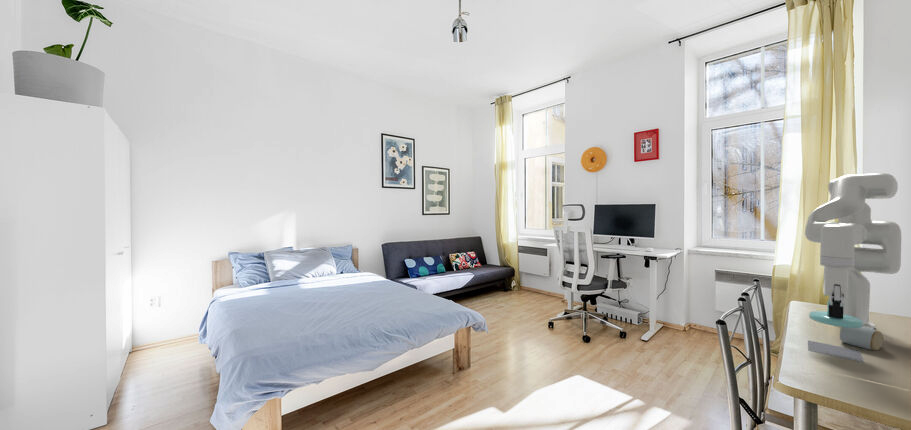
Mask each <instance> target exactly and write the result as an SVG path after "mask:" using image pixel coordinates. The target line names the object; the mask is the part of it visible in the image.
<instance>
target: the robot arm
mask: <svg viewBox="0 0 911 430" xmlns="http://www.w3.org/2000/svg"><path fill="white" fill-rule="evenodd" d="M827 187H828V191H829V194H830V198H829V201H828V202H826V203H824V204H822V205H820V206H819V207H816V209H814V210H813V211H811V212H810V213H809V215H808V218H807V221H806V225H805V229H804V235H805V238H806V240H808V241H810V242H812V243H816V244H817V243H818V244H819V243H820V249H819V250H820V253H819V256H820V259H819V264H820V265H819V266H822V267H823V286H822V289H823V290H822V291H823V292H822V293H823V295H824V296H826V297H828V301H830V305H829V317H833V318H840V319H843V314H845V315H849V316H853V317H856V318H858V319H860V320H862V321H863V326H864V327H868V328H872V329H875V327H876V325H875V324H874V323H873V322H870V302H871V301H870V297H871V283H870V281H869V280H868V278H867V277H866V276H865V275H864V274H862V273H863V272H864V273H874V274H875V273H876V274H884V275H885V274H887V275H894V274H897V273H898V272H899V271H900V269H901V264H902V263H901V261H902V230H901V227H900V225H899V224H898V223H896V222H894V221H888V220H872V218H871V215H872V208H871V207H870V205H869V204H867V203H866V199H867V200H870V199H871V200H873V199H876V200H877V199H879V200H880V199H881V200H884V199H892V198H894V196H896V194H897V192H898V190H899V189H898V188H899V184H898V181H897V179H896V178H895V176H893V175H892V174H889V173H886V172H885V173H883V172H877V173H860V174H859V173H858V174H857V173H855V174H854V173H853V174H845V175H842V176H840V177H838V178H835V179H832V180H830V181H829V182H828V185H827ZM832 220H838V221H832ZM856 245H870V246H880V247H881V248H873V247H871V248H870V247H861V246H858V247H857V246H856ZM843 304H844V311H843Z"/></svg>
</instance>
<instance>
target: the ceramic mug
mask: <svg viewBox="0 0 911 430" xmlns="http://www.w3.org/2000/svg"><path fill="white" fill-rule="evenodd" d="M839 330H840V331H839V339H840V341H841V343H843V344H845V345H846V344H848V345H850V346H855V347H859V348H862V349H865V350H870V351H879V350H881V347H882V346H883V343H884V336H883V334H882V332H881V331H879V330H877V329H875V328H874V329H872V328H868V327H864V326H862V327H859V328H848V327H841V328H840V329H839Z"/></svg>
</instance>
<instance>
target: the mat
mask: <svg viewBox="0 0 911 430" xmlns="http://www.w3.org/2000/svg"><path fill="white" fill-rule="evenodd" d="M807 350H808V351H809V352H813V353H817V354H822V355H828V356H831V357H836V358H841V359H846V360H849V361H850V360H851V361H855V362H860V363H865V362H864V358H863V356H862V353H861V351H860V349H854V348H849V347H844V346H838V345H833V344H830V343H823V342H818V341H814V340H807Z"/></svg>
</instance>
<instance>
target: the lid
mask: <svg viewBox="0 0 911 430" xmlns="http://www.w3.org/2000/svg"><path fill="white" fill-rule="evenodd" d="M829 305H830V301H829V300H828V301H827V308H826V310H827V311H823V310H821V311H820V310H816V311H815V310H814V311H810V312H809V314H808V315H809V317H808V318H809V319H811V320H813V321H815V322H818V323H821V324H824V325H827V326H828V325H829V326H833V327H839V328H840V327H848V328H859V327H862V326H863V321H862V320H860V319H858V318H856V317H853V316H849V315H845V314H843V319H840V318H833V317H829ZM843 311H844V304H843Z"/></svg>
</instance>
